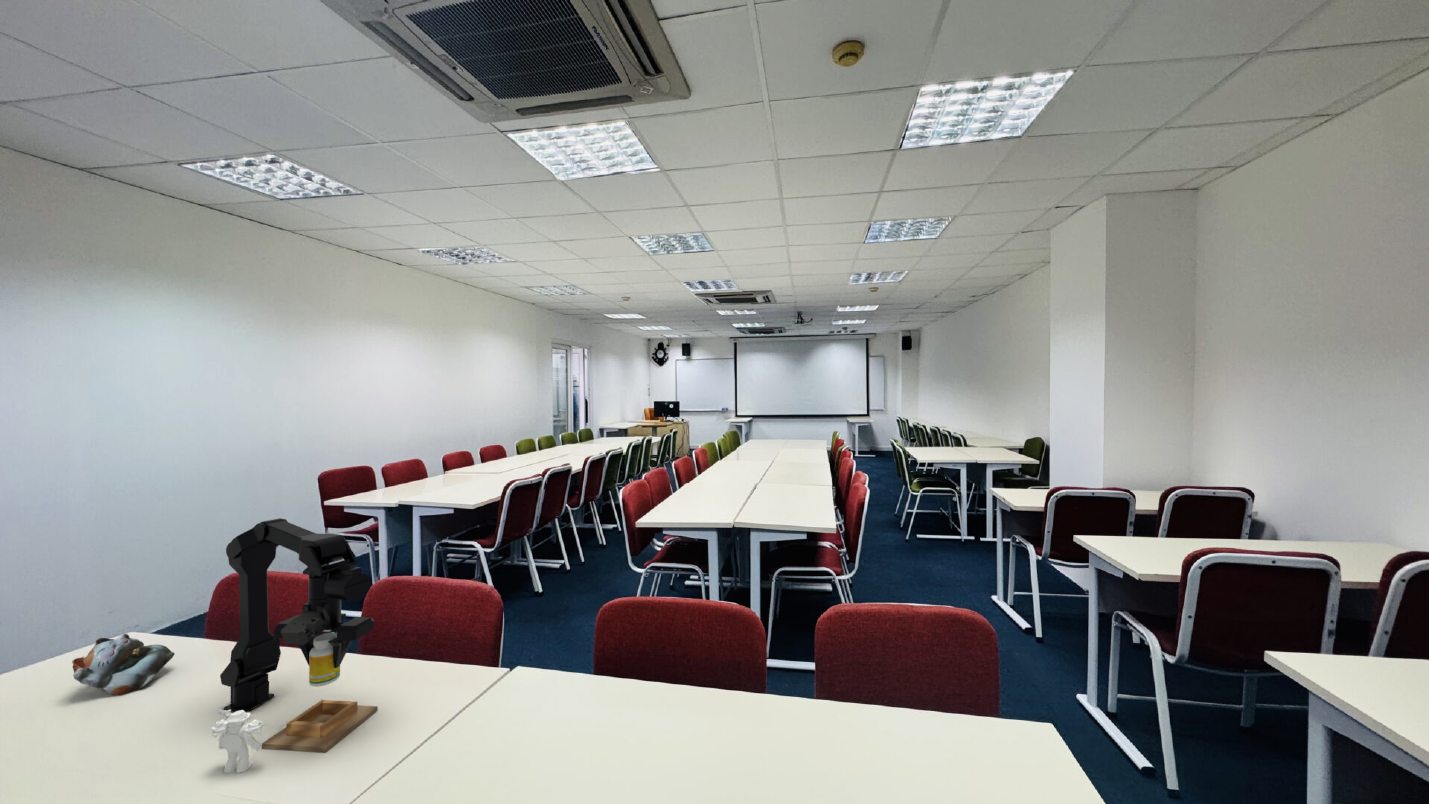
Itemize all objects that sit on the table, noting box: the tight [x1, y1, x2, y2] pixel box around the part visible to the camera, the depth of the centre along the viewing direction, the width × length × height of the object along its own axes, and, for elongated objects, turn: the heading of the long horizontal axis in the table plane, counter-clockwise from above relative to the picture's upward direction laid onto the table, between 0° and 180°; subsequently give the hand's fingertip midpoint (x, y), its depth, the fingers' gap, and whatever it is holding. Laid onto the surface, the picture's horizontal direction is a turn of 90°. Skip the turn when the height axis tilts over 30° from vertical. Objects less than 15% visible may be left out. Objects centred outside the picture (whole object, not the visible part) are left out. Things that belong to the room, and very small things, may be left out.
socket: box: [261, 699, 379, 754], centre depth 109 cm, size 14×14×4 cm
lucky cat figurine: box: [71, 633, 175, 696], centre depth 125 cm, size 15×12×14 cm
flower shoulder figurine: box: [210, 708, 265, 774], centre depth 97 cm, size 9×4×12 cm, turn 89°
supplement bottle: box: [308, 632, 341, 687], centre depth 109 cm, size 5×5×10 cm
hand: (324, 666), depth 109 cm, fingers closed on supplement bottle, 5 cm apart
